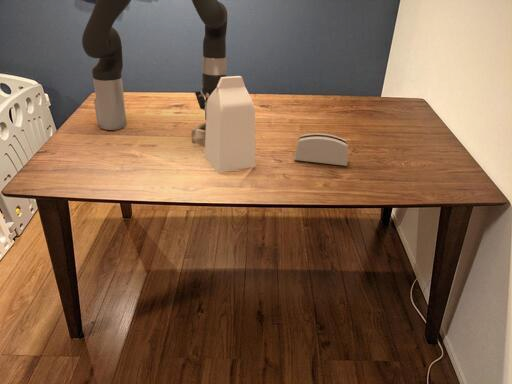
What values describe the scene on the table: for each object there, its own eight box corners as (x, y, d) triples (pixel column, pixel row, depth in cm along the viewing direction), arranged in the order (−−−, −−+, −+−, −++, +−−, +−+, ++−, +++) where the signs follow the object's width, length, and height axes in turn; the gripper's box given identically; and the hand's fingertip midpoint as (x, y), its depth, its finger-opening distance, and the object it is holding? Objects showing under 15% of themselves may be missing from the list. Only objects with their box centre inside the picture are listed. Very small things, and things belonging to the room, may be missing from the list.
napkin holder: (346, 162, 129) (351, 134, 123) (346, 170, 125) (352, 141, 120) (294, 156, 131) (297, 128, 125) (293, 163, 127) (296, 135, 121)
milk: (218, 172, 118) (219, 83, 105) (204, 157, 126) (203, 73, 114) (255, 166, 123) (260, 80, 110) (239, 152, 131) (241, 71, 119)
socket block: (191, 143, 136) (191, 129, 134) (210, 133, 145) (210, 119, 143) (218, 150, 132) (218, 135, 130) (235, 139, 141) (236, 125, 139)
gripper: (188, 70, 127) (190, 122, 135) (227, 77, 122) (226, 131, 130) (202, 66, 133) (202, 116, 141) (239, 72, 127) (237, 124, 136)
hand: (213, 123), depth 135 cm, fingers closed on bolt, 3 cm apart
